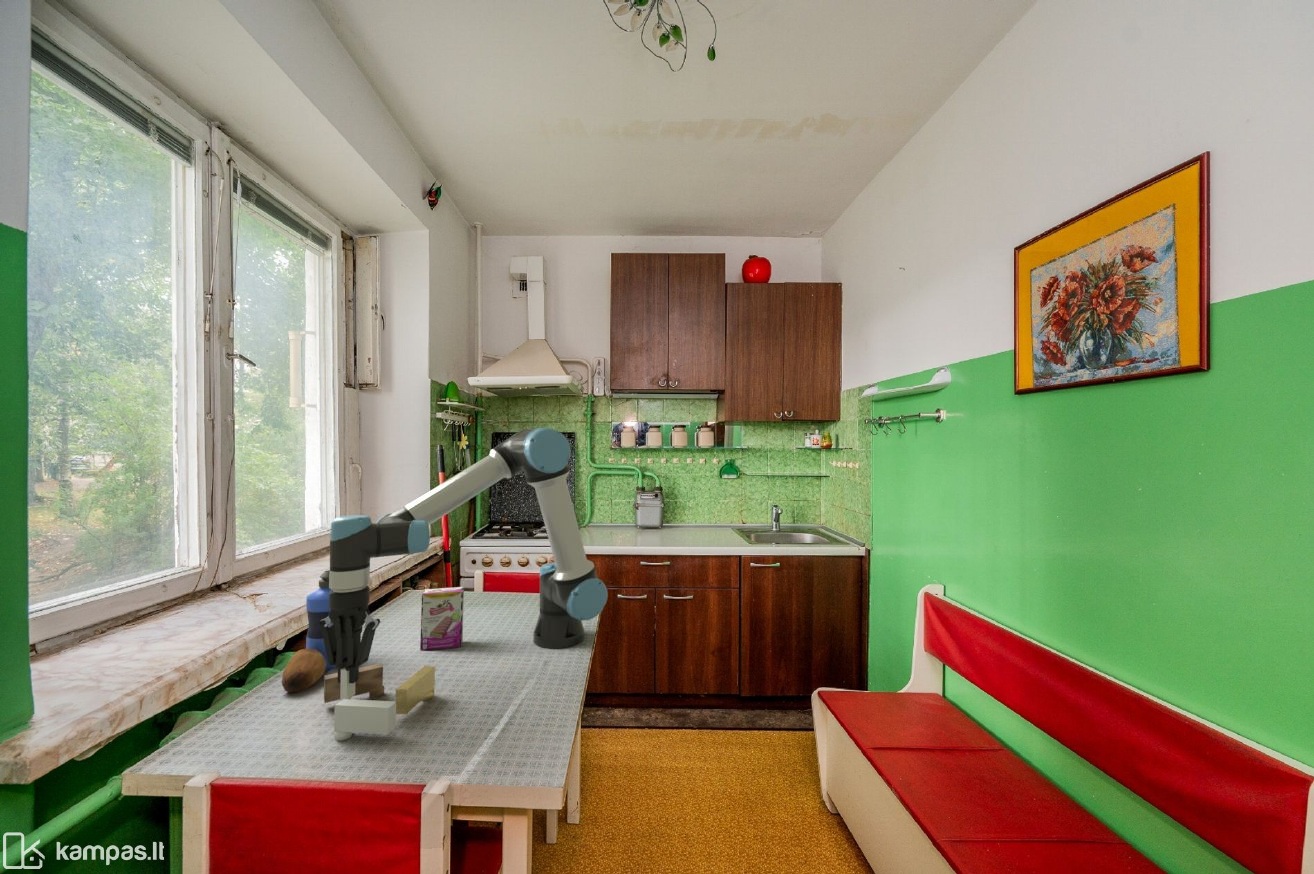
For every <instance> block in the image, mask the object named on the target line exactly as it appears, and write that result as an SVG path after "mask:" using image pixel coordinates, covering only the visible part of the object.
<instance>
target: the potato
mask: <svg viewBox="0 0 1314 874" xmlns="http://www.w3.org/2000/svg"><path fill="white" fill-rule="evenodd" d="M325 668H326V661H325V659H324V657H323V655H322V654H321V653H320V652H319V651H317V650H316V649H308V648H306V647H304V648H302V649H299V650H297V651H295V652H294V654H293V655H292V656H291V657H290V659H289V661H288V662H287V663H286V665H285V668H284V670H283V673H282V678H281V685H282V687H283V689H284V691H285V692H286V693H288V694H292V693H298V692H302V691H305V690H306V689H308V688H310V687H311V686H314V684H315V683H317V682H318V681H319V680H320V679H321V677H322V676H323V675H324V674H323V673H324V672H325Z"/></svg>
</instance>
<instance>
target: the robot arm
mask: <svg viewBox="0 0 1314 874" xmlns="http://www.w3.org/2000/svg"><path fill="white" fill-rule="evenodd" d="M571 454H572V453H571V446H570V442H569V441H568V439H567V438H566V435H564V434H563V433H561V432H560V431H559V430H557V429H555V428H551V427H550V428H549V427H543V426H542V427H537V428H527V429H526V428H525V429H522V430H520V431H517V432H515V433H514V434H513V435H511V436H510V437H509V438H506V439H505V440H504V441H502V442H501V443H499V444H498V445H496V446H495V447H493V448H491V449H490V450H489V454H488V455H487V456H485V457H483V458H481V459H480V460H478V461H477V462H475V463H474V464H472V465H470V466H469V467H467V468H465V469H463V470H462V471H461V472H459V473H456V474H455V475H454V476H452V477H450V478H449V479H446V480H445V481H444V482H442V483H441V484H439V485H437V486H436V487H434V488H432V489H431V490H428V492H426V493H424V494H422V495H420V496H419V497H418V498H416V499H414V500H412V501H411V502H409V503H407V504H406V505H405V506H403V507H401V508H398V510H396V511H394V512H393V513H392V512H391V513H387V514H385V515H382V516H381V517H380V518H379V519H378V520H377V521H376V522H375V523H373V522H372V519H371V516H369V515H367V514H366V515H364V514H358V515H357V514H352V515H342V516H337V517H335V518H334V519H333V520H332V521H331V525H330V534H329V535H330V536H329V570H330V573H329V588H330V589H332V590H331V591H330V592H329V608H330V609H331V610H330V612H329V616H328V617H326V618H325V619H323V620H320V621H319V622H318V626H319V628H320V629H321V631H322V635H323V640H324V644H325V649H326V654H327V659H328V663H329V665H334V666H336V667H335V668H336V669H337V673H338V683H341V686H340V701H341V700H343V699H351V698H352V697H355V696H354V695H355V682H356V681H358V678H359V676H358V675H359V668H360V667H361V666H362V665H364V664H365V663H367V662H368V661H369V658H370V653H371V650H372V645H373V643H374V642H373V641H374V637H375V634H376V629H377V628H378V627H379V625H380V624H381V619H380V618H376V619H375V618H374V617H373V616H371V612H370V610H369V604H370V592H371V591H370V588H371V587H369V584H370V581H371V580H370V578H371V576H370V575H371V574H370V573H371V572H370V571H371V566H370V565H371V562H370V561H371V559H372V558H376V559H377V558H381V557H382V558H383V557H392V556H403V555H414V554H419V553H424V552H426V551H428V549H429V547H430V541H431V531H430V525H432V524H434V523H435V522H437V521H438V520H439V519H441V518H443V517H444V516H446V515H447V514H449V513H451V512H453V511H454V510H456V509H457V508H459V507H460V506H461V505H463V504H465V503H466V502H469V500H471V499H473V498H474V497H476V496H477V495H479V494H481V493H482V492H484V491H485V490H487V489H488V488H490V487H492V486H494V484H497V483H498V482H499V481H501V480H503V479H511V478H513V477H514V476H516V475H517V474H519V473H522V472H524V477H525V480H526V484H528V485H529V486H531V487H533V488H534V489H535V494H536V497H537V498H536V499H537V502H538V504H539V508H540V512H541V515H542V519H543V523H544V526H545V531H546V534H547V538H548V541H549V545H550V550H551V552H552V556H553V560H554V561H552V562H547V563H544V564H542V565H541V566H540V570H539V571H540V572H539V615H538V618H537V621H536V624H535V627H534V631H533V634H532V635H533V636H532V638H533V640H532V641H533V644H535V645H536V646H537V647H541V648H547V649H562V648H568V647H573V646H575V645H578V644H580V643H582V641H583V640H585V628H584V625H583V624H584V623H583V622H582V621H588V620H589V621H590V620H592V619H594V618H595V617H597V616H598V615H599V614H601V612H602V611H603V610H604V608H605V605H606V604H607V601H608V597H609V596H608V587H606V585H605V583H604V582H603V580H601V579H600V578H598V575H597V570H596V567H595V564H594V561H591V560H589V559H587V555H586V551H585V547H584V543H583V539H582V536H581V533H580V532H581V531H580V528H579V525H578V521H577V520H578V519H577V516H576V512H575V509H574V506H573V502H572V501H573V500H572V497H571V494H570V491H569V486H568V483H567V477H568V475H569V474H570V472H571V471H570V467H569V464H568V463H569V460H570V458H571ZM363 628H364V630H363Z"/></svg>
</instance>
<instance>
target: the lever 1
mask: <svg viewBox="0 0 1314 874" xmlns="http://www.w3.org/2000/svg"><path fill="white" fill-rule="evenodd" d="M383 675H384V666H383V664H382V662H380V663H375V664H371V665H367V666H363V667H361V666H360V667H359V675H358V676H359V678H358V681H356V682H355V695H354V696H353V697H355V696H360V695H363V694H364V695H365V694H368V697H369V698H370V699H378V698H381V697H383V696H384V695H385V685H384V683H383V682H384V681H383V679H384V677H383ZM323 681H324V683H323V684H324V685H323V702H324V704H326V703H331V702H335V701H338V700H340V686H341V683H338V672H335V673H331V674H330V673H329V674H324V679H323ZM340 701H341V700H340Z"/></svg>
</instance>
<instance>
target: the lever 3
mask: <svg viewBox="0 0 1314 874" xmlns="http://www.w3.org/2000/svg"><path fill="white" fill-rule="evenodd" d="M435 677H436V666H431V665H429V666H428V665H424V666H423V667H421V668H420V669H419V670H417V672H416V673H414V674H413V675H412V676H410V677H409V678H408V679H407V680H405V681H404V682H403V683H402V684H400V685H399V686H397V687H396V688H395V701H394V702H396V715H408V714H409V712H410V711H412V710H413V709H414V708H415V707H416V706H417V705H418V704H419V703H421V702H428V701H431V700H433V699H434V698H435V688H436V687H435V683H436V678H435Z"/></svg>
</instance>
